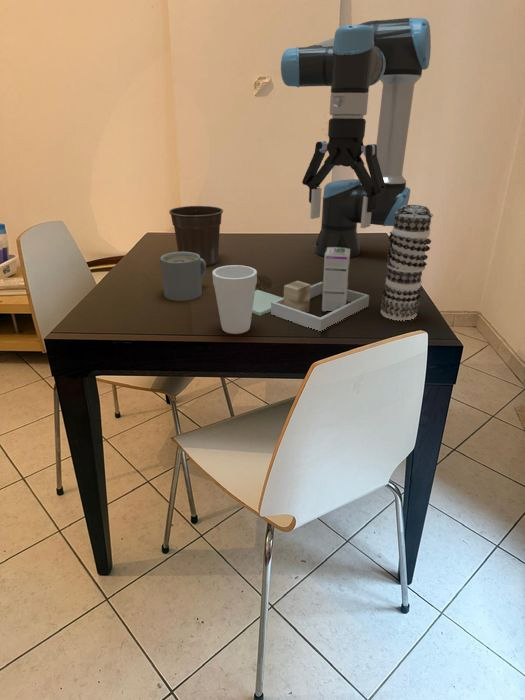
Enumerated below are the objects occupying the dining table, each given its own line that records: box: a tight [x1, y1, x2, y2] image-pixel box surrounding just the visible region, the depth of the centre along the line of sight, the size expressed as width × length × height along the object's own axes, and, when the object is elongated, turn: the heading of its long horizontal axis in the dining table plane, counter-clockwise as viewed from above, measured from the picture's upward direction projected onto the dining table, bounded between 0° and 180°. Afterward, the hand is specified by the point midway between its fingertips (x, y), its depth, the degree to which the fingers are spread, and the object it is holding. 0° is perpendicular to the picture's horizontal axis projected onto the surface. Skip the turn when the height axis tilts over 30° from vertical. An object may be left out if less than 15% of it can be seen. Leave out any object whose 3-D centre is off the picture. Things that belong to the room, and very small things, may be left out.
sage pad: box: [252, 289, 283, 317], centre depth 117 cm, size 11×11×1 cm
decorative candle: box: [380, 204, 434, 322], centre depth 106 cm, size 9×9×25 cm
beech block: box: [283, 280, 312, 313], centre depth 110 cm, size 5×4×7 cm
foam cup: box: [212, 264, 258, 335], centre depth 101 cm, size 10×9×13 cm
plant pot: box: [168, 205, 224, 267], centre depth 144 cm, size 16×16×16 cm
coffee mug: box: [160, 251, 207, 302], centre depth 121 cm, size 13×10×10 cm
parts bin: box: [270, 281, 370, 332], centre depth 112 cm, size 20×15×3 cm
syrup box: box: [321, 247, 351, 312], centre depth 111 cm, size 6×6×14 cm
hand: (339, 222), depth 105 cm, fingers open, 13 cm apart
